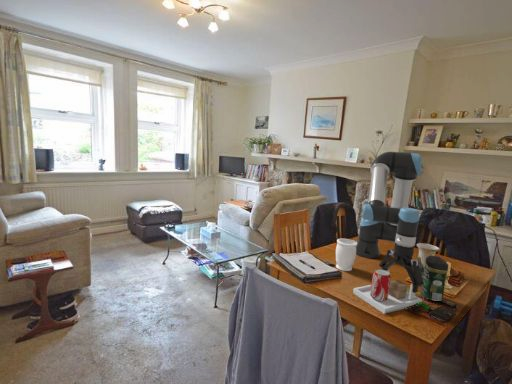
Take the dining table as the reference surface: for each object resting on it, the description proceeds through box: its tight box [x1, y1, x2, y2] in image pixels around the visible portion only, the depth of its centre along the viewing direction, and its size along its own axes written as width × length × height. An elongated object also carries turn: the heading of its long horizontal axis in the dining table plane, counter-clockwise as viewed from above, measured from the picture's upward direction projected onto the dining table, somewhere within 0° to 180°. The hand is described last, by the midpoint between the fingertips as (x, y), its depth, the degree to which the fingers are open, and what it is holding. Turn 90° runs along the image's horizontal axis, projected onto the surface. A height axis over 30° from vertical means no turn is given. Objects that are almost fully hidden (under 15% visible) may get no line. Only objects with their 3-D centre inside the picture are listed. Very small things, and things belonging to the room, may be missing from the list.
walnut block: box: [389, 279, 408, 300], centre depth 125 cm, size 5×5×6 cm
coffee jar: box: [420, 255, 449, 302], centre depth 126 cm, size 10×8×19 cm
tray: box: [352, 284, 423, 315], centre depth 124 cm, size 22×17×2 cm
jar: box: [335, 238, 357, 272], centre depth 152 cm, size 11×10×15 cm
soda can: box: [370, 268, 392, 301], centre depth 121 cm, size 7×7×12 cm
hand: (397, 290), depth 125 cm, fingers open, 13 cm apart
